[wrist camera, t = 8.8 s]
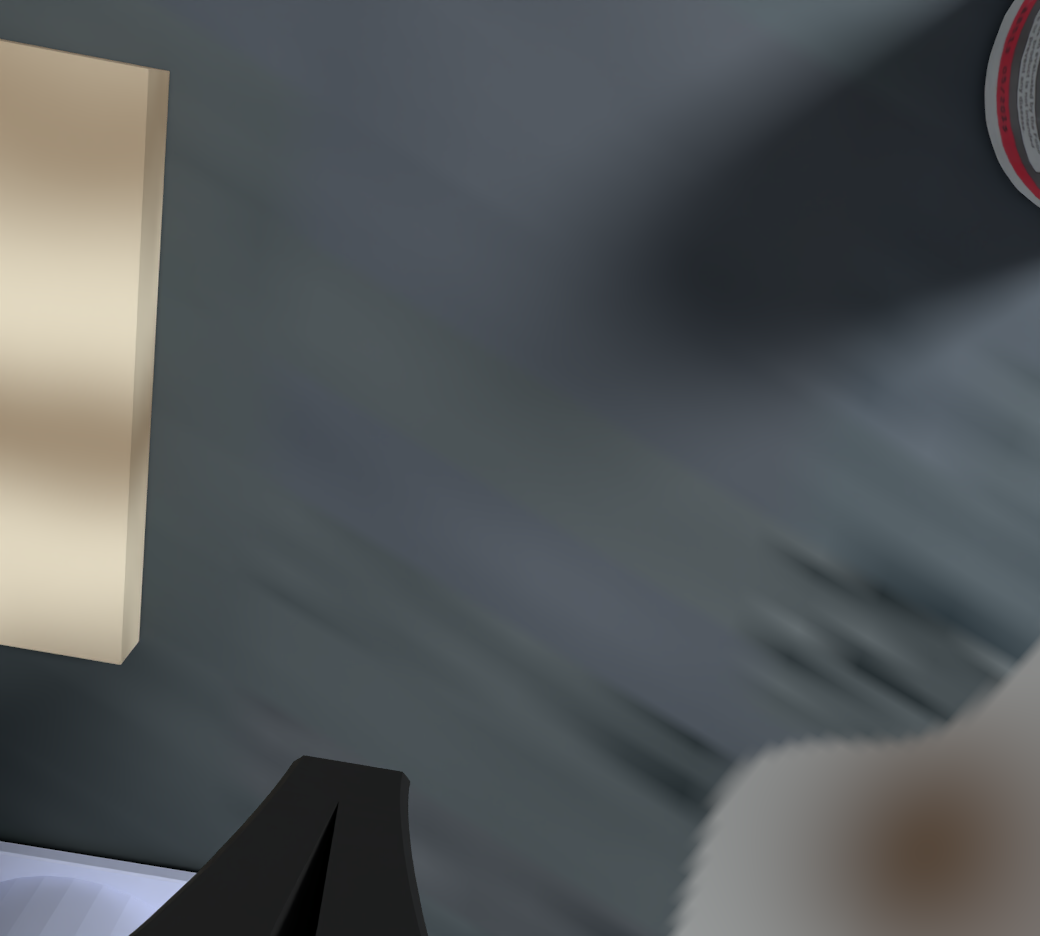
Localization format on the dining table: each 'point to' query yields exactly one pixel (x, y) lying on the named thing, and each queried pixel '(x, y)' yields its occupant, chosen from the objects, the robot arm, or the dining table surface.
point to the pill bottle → (1016, 97)
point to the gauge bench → (76, 344)
